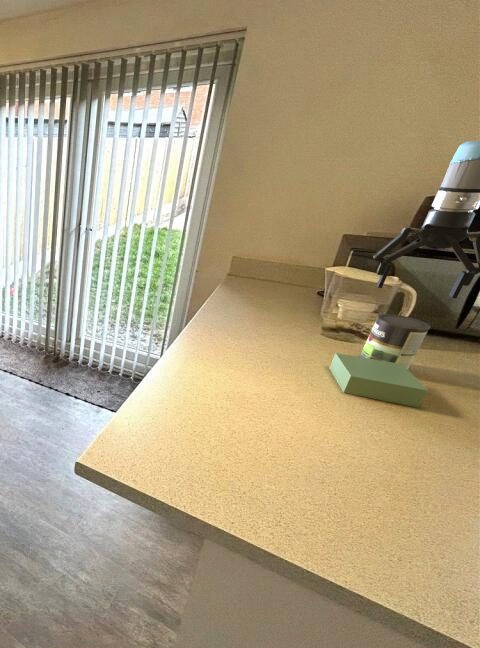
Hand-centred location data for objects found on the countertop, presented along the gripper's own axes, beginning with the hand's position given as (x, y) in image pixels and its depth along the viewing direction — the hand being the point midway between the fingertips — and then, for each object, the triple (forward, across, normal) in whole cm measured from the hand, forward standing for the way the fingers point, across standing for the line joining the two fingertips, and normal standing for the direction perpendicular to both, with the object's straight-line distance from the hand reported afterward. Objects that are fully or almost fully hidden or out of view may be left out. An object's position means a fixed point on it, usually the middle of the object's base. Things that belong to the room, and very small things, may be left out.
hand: (414, 291), depth 104 cm
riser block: (+23, -3, -16) cm, 28 cm away
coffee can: (+23, +1, +1) cm, 23 cm away
